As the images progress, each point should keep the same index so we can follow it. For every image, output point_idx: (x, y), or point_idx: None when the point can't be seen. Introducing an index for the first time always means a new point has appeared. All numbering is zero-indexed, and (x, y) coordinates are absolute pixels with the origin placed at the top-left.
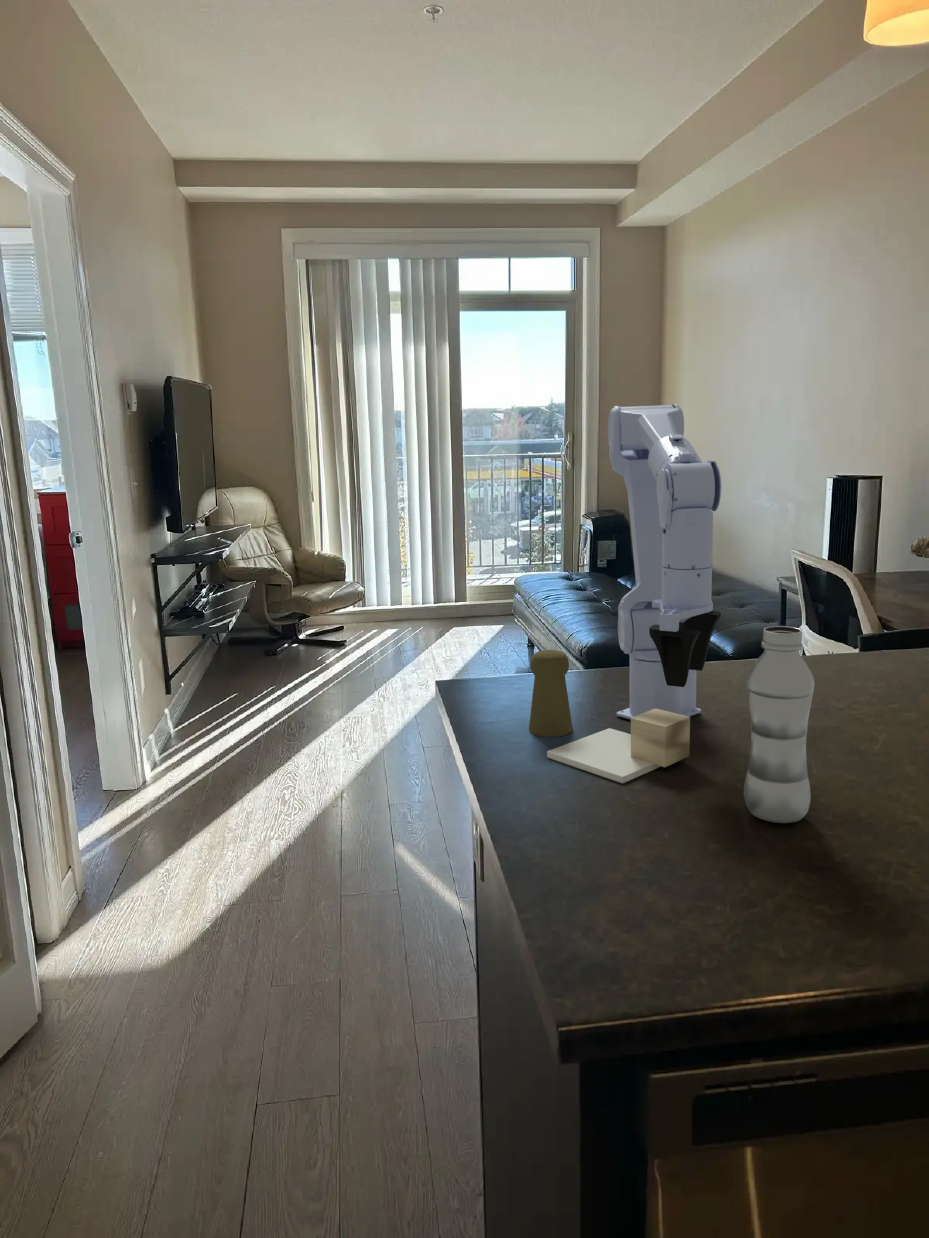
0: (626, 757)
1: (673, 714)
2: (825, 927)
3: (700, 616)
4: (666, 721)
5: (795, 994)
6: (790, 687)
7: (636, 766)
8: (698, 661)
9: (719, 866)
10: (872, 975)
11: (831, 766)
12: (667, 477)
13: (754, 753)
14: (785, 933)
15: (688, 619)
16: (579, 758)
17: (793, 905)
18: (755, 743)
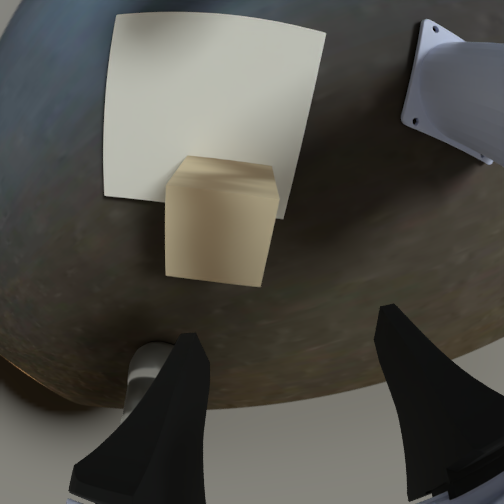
0: (179, 150)
1: (256, 254)
2: (70, 383)
3: (426, 486)
4: (198, 263)
5: (28, 375)
6: None
7: (154, 188)
8: (382, 356)
9: (61, 338)
10: (62, 394)
11: (334, 354)
12: None
13: (125, 404)
14: (49, 371)
15: (440, 462)
16: (120, 83)
17: (70, 373)
18: (123, 414)
